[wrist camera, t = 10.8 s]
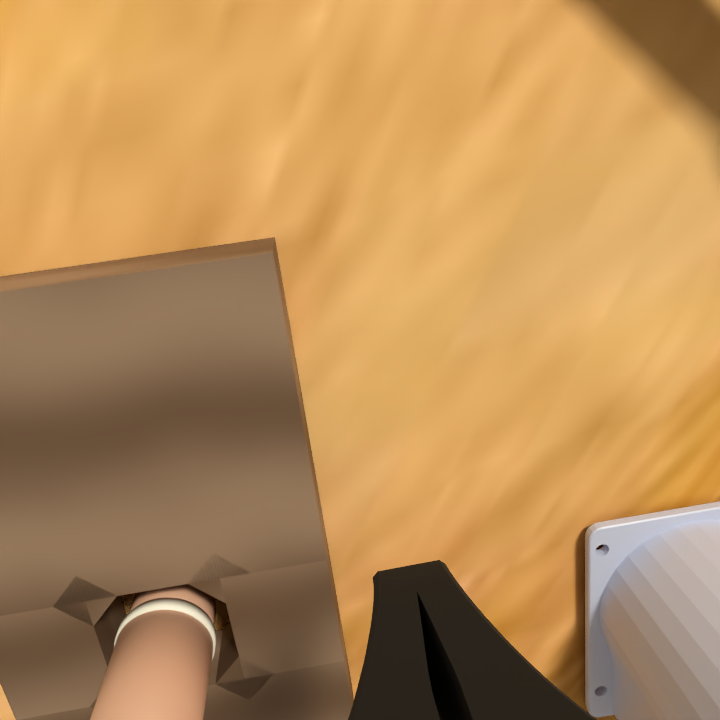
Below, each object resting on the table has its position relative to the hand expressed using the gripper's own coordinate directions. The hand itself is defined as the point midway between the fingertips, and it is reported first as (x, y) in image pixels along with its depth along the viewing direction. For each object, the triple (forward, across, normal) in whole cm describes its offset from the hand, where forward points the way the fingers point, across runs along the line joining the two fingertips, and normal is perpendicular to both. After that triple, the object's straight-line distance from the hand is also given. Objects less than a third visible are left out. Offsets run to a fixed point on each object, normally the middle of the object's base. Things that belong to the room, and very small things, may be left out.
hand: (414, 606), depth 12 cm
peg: (+10, +8, +6) cm, 13 cm away
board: (+10, +8, +3) cm, 12 cm away
